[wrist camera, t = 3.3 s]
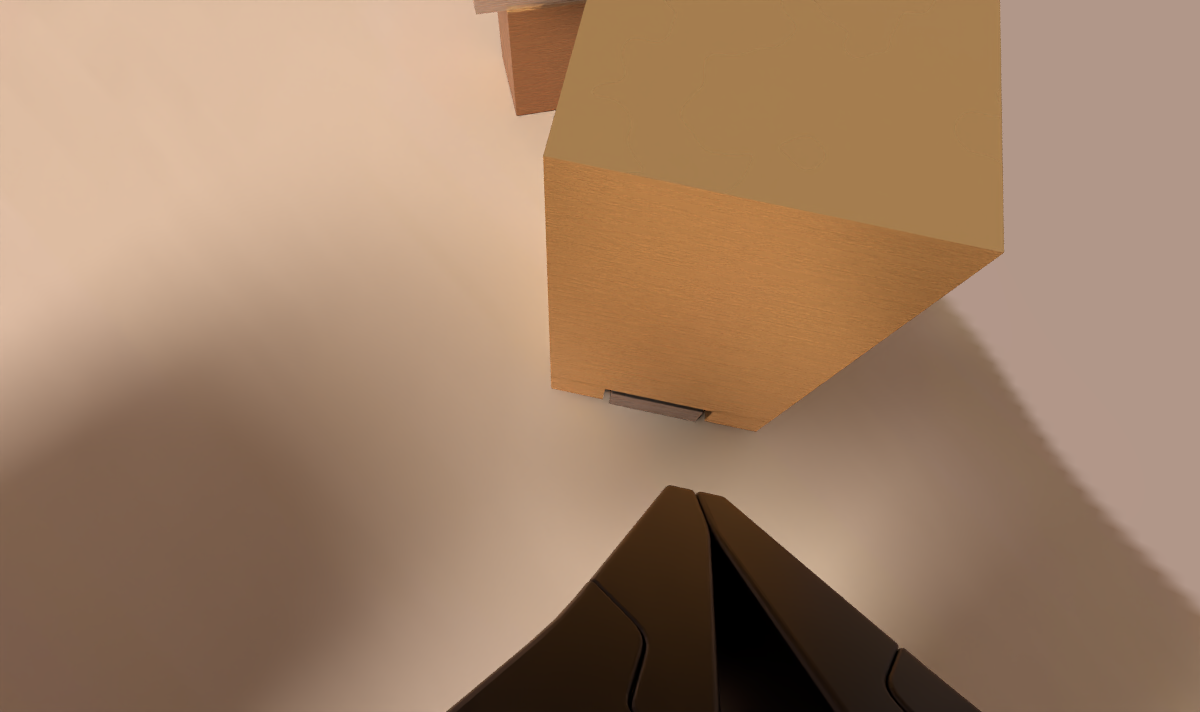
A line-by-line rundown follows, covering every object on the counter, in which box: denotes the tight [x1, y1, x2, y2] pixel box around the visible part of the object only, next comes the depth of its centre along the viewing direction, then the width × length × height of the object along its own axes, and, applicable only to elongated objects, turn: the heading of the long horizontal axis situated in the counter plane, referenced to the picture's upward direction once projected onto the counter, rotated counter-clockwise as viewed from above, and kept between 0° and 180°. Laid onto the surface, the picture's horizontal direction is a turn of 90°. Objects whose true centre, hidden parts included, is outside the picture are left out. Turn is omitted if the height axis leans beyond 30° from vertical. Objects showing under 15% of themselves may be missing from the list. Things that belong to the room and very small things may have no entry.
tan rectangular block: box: [543, 0, 1004, 432], centre depth 13 cm, size 5×6×10 cm
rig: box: [473, 0, 703, 421], centre depth 17 cm, size 13×9×6 cm, turn 169°
